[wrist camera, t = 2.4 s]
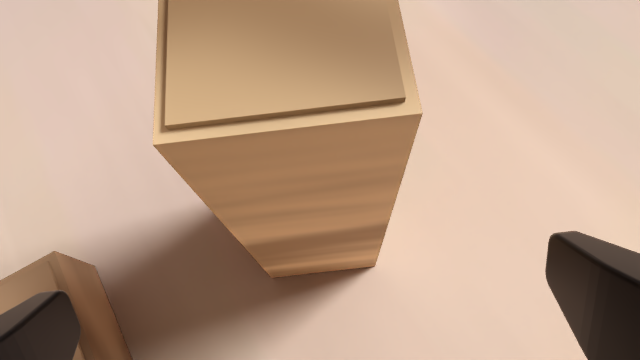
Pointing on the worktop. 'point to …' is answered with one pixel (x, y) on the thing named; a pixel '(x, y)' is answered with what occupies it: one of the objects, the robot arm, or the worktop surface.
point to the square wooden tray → (86, 297)
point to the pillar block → (289, 122)
